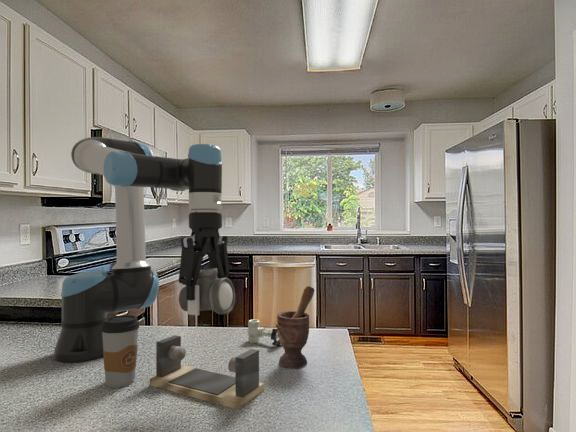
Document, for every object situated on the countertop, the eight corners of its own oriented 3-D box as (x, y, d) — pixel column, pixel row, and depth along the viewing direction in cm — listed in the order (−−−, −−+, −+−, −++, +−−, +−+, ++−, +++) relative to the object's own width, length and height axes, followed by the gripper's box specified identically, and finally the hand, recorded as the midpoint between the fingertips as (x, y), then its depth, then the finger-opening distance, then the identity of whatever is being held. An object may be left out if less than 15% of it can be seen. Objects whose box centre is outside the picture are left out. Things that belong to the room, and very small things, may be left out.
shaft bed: (149, 385, 88) (149, 344, 88) (180, 370, 97) (180, 333, 97) (237, 409, 77) (237, 361, 77) (263, 390, 85) (263, 347, 86)
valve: (242, 343, 120) (273, 349, 113) (242, 322, 120) (273, 327, 114) (255, 337, 125) (285, 343, 119) (255, 317, 126) (285, 322, 119)
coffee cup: (114, 393, 84) (115, 325, 85) (93, 384, 89) (93, 320, 89) (146, 379, 91) (146, 317, 92) (125, 372, 96) (125, 313, 96)
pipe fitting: (239, 308, 89) (233, 264, 89) (222, 318, 82) (215, 271, 82) (196, 310, 93) (190, 269, 93) (176, 320, 86) (169, 276, 86)
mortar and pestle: (291, 353, 110) (290, 283, 110) (319, 357, 106) (318, 285, 106) (271, 366, 100) (271, 290, 100) (301, 372, 96) (301, 292, 96)
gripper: (186, 210, 77) (186, 322, 77) (244, 212, 95) (244, 304, 95) (160, 211, 81) (160, 318, 80) (220, 213, 99) (220, 301, 98)
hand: (205, 310), depth 88 cm, fingers closed on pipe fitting, 7 cm apart
